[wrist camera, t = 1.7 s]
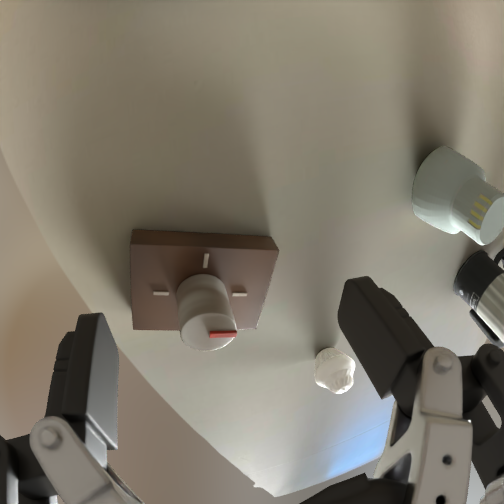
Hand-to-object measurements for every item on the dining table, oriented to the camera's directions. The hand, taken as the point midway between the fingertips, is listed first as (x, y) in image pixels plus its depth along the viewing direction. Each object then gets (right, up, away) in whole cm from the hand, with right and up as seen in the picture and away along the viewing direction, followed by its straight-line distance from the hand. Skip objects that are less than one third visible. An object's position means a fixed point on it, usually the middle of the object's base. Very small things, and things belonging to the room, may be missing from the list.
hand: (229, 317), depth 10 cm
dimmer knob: (-4, -2, +19) cm, 19 cm away
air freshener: (+22, +10, +22) cm, 33 cm away
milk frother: (+42, -1, +35) cm, 55 cm away
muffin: (+12, -13, +34) cm, 38 cm away
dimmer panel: (-5, 0, +21) cm, 21 cm away
